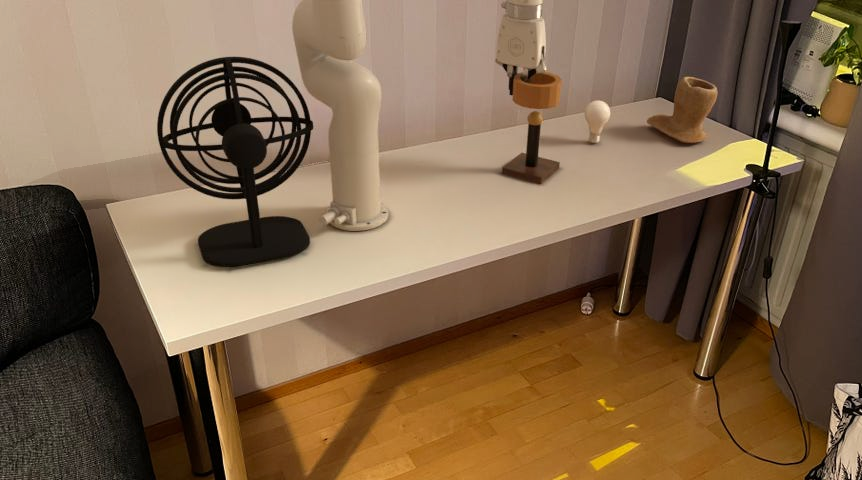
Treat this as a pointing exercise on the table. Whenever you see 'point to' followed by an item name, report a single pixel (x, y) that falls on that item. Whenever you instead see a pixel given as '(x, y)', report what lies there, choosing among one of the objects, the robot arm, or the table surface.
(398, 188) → the table surface
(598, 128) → the lightbulb
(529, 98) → the tape roll
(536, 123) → the hook peg
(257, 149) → the desk fan
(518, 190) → the table surface
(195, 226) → the table surface
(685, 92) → the brown boot
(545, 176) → the hook base
